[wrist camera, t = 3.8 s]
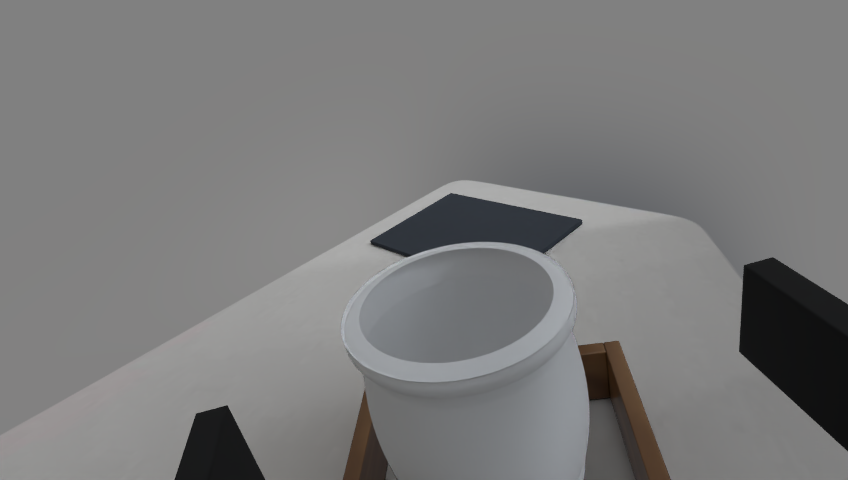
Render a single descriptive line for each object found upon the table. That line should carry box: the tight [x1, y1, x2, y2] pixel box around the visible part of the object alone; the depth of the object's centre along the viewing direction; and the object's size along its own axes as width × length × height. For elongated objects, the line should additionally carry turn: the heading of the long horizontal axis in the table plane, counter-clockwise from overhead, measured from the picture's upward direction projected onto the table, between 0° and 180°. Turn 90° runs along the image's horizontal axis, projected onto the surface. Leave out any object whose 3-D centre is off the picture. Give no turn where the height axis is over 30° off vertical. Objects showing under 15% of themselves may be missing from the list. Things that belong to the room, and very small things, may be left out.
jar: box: [341, 242, 590, 480], centre depth 27 cm, size 11×10×15 cm
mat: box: [371, 193, 582, 257], centre depth 62 cm, size 20×14×1 cm
